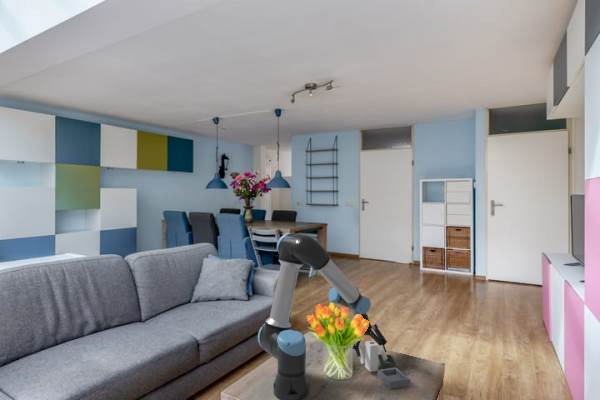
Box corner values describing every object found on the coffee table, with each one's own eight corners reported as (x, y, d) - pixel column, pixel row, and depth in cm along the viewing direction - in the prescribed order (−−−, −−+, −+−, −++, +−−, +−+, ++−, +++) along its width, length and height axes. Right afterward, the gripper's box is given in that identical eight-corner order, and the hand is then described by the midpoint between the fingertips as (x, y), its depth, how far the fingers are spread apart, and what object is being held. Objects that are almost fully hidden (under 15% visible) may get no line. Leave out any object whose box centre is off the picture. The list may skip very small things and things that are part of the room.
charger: (370, 371, 163) (370, 344, 163) (365, 366, 168) (365, 340, 168) (377, 370, 164) (378, 343, 164) (372, 365, 169) (373, 339, 169)
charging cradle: (389, 389, 149) (389, 382, 149) (377, 376, 159) (377, 370, 159) (409, 385, 151) (409, 378, 151) (396, 373, 161) (396, 367, 161)
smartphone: (381, 369, 165) (376, 354, 180) (381, 371, 165) (376, 356, 180) (398, 369, 164) (391, 354, 179) (398, 371, 164) (391, 356, 179)
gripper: (378, 317, 184) (393, 361, 169) (336, 322, 177) (348, 367, 163) (383, 310, 178) (400, 355, 164) (340, 315, 172) (353, 361, 157)
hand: (374, 361), depth 163 cm, fingers open, 11 cm apart
